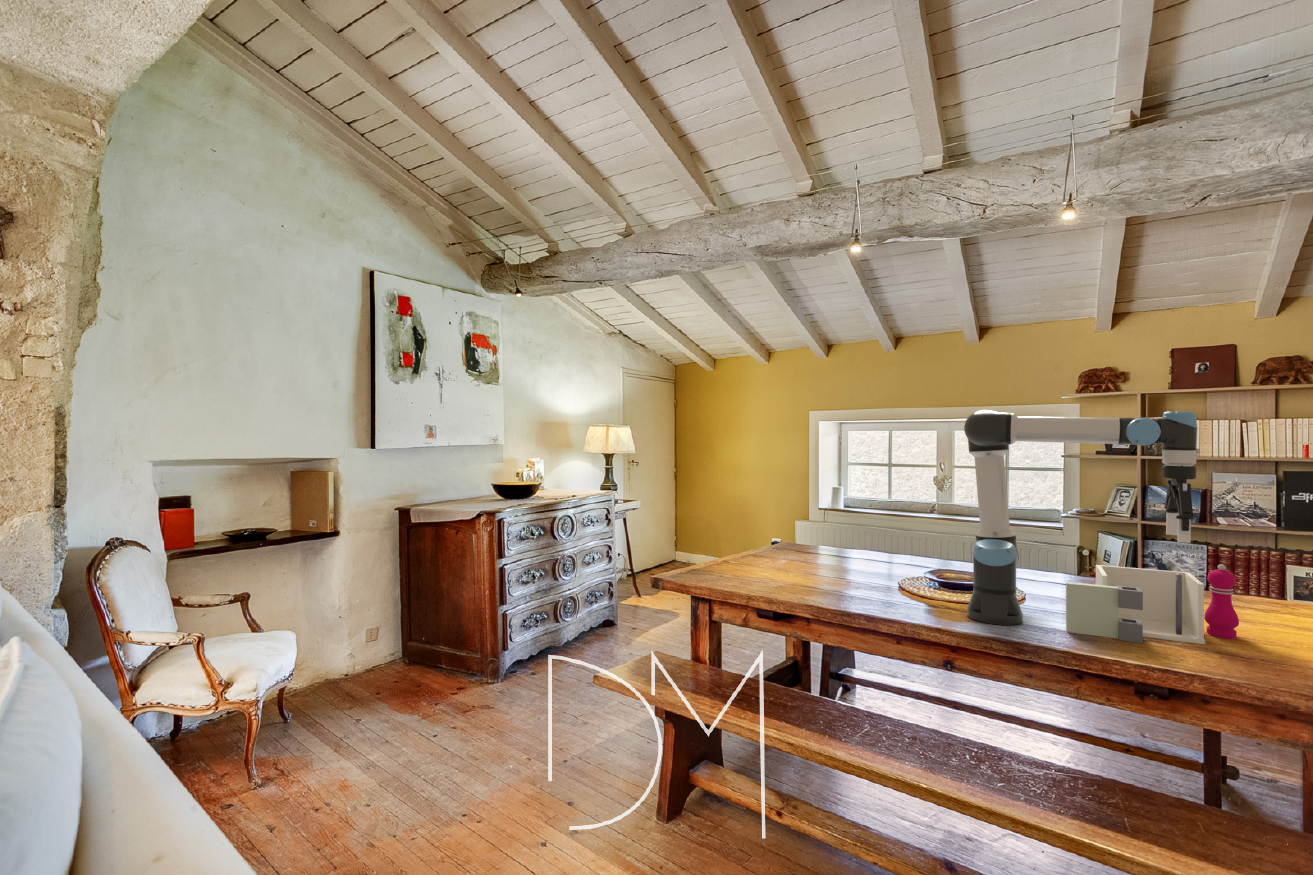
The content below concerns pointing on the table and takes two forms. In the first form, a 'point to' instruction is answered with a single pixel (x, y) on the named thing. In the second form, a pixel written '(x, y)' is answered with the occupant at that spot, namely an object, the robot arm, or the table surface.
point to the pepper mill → (1221, 604)
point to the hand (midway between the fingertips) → (1177, 538)
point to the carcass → (1160, 601)
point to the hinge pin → (1179, 604)
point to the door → (1103, 611)
